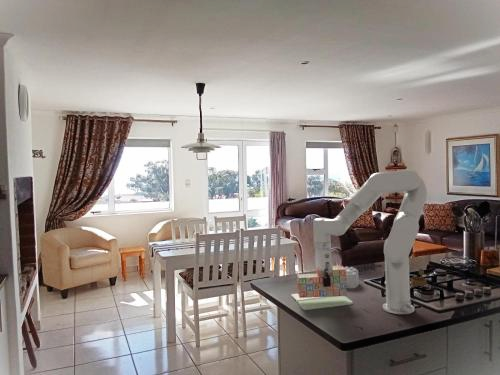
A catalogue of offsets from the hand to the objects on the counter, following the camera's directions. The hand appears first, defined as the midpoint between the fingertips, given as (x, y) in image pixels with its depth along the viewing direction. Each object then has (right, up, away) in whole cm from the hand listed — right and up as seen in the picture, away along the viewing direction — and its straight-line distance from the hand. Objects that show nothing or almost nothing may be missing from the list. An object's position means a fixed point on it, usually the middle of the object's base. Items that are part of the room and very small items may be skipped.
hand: (323, 283), depth 172 cm
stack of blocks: (-1, -5, 0) cm, 5 cm away
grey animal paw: (+18, -8, +27) cm, 34 cm away
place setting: (+54, -7, +19) cm, 58 cm away
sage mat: (+1, -9, 0) cm, 9 cm away
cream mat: (-1, -9, +11) cm, 14 cm away
